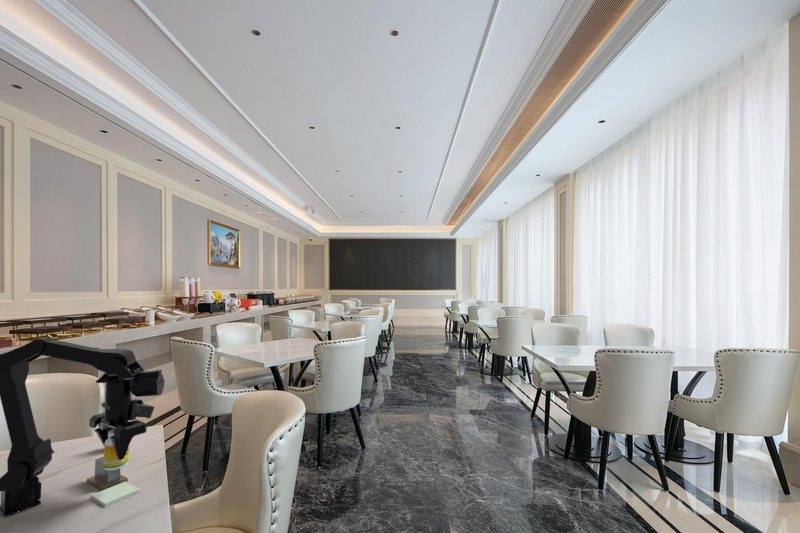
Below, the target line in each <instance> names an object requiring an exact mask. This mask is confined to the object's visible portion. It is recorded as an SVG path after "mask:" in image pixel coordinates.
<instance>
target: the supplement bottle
mask: <svg viewBox="0 0 800 533" xmlns="http://www.w3.org/2000/svg"><path fill="white" fill-rule="evenodd" d="M111 436H114V429H112V430H110V431H108V437H109V438H108V439H107V440H106V441H105V445H103V447H104V450H103V451H104V452H103V457H104V469H105V470H117V469H120V470H121V469H122V468H125V467H126V466H127V465H128V464H129V456H130V455H129V454H130V452H129V451H130V446H129V447H128V449H127V452H126V455H125V457H124V459H121V460H119V459H118V457H117V454H116V451H115V449H114V446H113V443H112V441H111V438H110V437H111Z"/></svg>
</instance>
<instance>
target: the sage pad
mask: <svg viewBox="0 0 800 533" xmlns="http://www.w3.org/2000/svg"><path fill="white" fill-rule="evenodd" d="M138 493H141V489H140V488H139V487H138V486H135V485H134V484H132V483H129V481H128V482H126V481H125V482H123V483H120V484H118V485H115V486H113V487H110V488H108V489H105V490H103V491H101V490H100V491H98V492H95V493H93V494H91V496H90V498H91V499H92V500H93V501H95V502H97V503H98V504H100V505H101V506H103V507H104V508H106V507H108V506H111V505H113V504H115V503H118V502H120V501H122V500H125V499H127V498H129V497H132V496H133V495H136V494H138Z"/></svg>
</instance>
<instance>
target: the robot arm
mask: <svg viewBox="0 0 800 533" xmlns="http://www.w3.org/2000/svg"><path fill="white" fill-rule="evenodd" d="M41 356H43V357H49V358H56V359H60V360H65V361H69V362H75V363H80V364H84V365H85V364H86V365H88V366H90V367H91V366H92V368H95V369H96V370H98V371H101V372H102V373H103V374H102V375H101V377H99V378H98V379H96V381H95V383H97V384H105V389H104V390H105V392H104V394H105V395H104V396H105V398H104V402H102V403H101V407H102V408H104V412H102V413H97V414H93V416H91V417H90V419H89V421H88V423H89V427H90V428H92V429H94V432H95V433H96V435H97V436H98V438H99V440H100V442H101V443H102V445H103V446H104V445H105V441H106V440H107V439H108V438H109V437H108V431H110V430H112V429H114V436H111V437H110V438H111V441H112V443H113V446H114V449H115V451H116V454H117V457H118V459H119V460H121V459H124V457H125V455H126V452H127V449H128V447H129V448H130V446H129V444H130V443H131V442H132V439H133V438H134V437H135V436H140V435H143V434H145V433H147V428H148V427H147V426H148V425H147V423H145V422H144V421H141V420H139V419H137V418H146V419H151V418H152V415H153V412H154V410H155V406H153V405H150V404H147V403H144V401H143V400H142V399H140V398H139V397H141V398H142V397H154V396H161V395H162V393H163V391H164V388H165V379H164V375H163V373H162V369H155V370H146V371H145V369H144V368H143V366H142V365H141V364H140V363H139V361H137V360H136V359H137V358H136V355H135V353H134V352H133V351H132V350H130V349H124V348H123V349H121V348H95V347H91V346H87V345H83V344H77V343H72V342H67V341H63V340H57V339H54V338H51V337H48V336H47V337H41V338H37V339H32V340H31V341H30V342H28V343H26V344H25V345H22V346H19V347H16V348H14V349H12V350H9V351H5V352H2V353H0V403H1V405H2V406H1V407H2V412H3V415H4V419H5V424H6V426H7V431H8V436H9V440H10V443H11V445H10V446H11V447H10V449H9V450H10V451H9V454H8V456H7V459H6V463H7V464H6V465H7V471H6V472H5V473H4V474H3V475H2V476H0V511H1V512H2V513H1V512H0V513H1V514H2V515H3V514H4V515H5V516H4V515H3V516H4V517H9V516H8V515H10V516H12V515H14V513H15V514H17V513H16V512H18V511H20V512H22V510H23V511H25V509H26V510H28V509H30V508H33V507H36V506H38V505H41V503H42V502H41V500H40V499H41V498H42V482H41V481H39V480H40V477H38V476H39V475H41V474H42V473H43V472H44V469H45V468H46V467H47V466H49V464H50V463H51V461H52V459H53V454H54V453H55V451H54V450H53V448H52V440H51V439H50V438H47V439H45V440H44V439H42V437H40V436H39V435H38V432H37V431H38V430H37V427H36V423H35V419H34V415H33V411H32V406H31V402H30V397H29V394H28V389H27V386H26V381H27V379H28V375H29V372H30V363H31V362H33V361H35V360H37V359H39V358H40V357H41ZM132 395H133V396H134V397H136V398H137V399H135V398H134V399H132ZM138 398H139V399H138ZM130 445H131V444H130ZM27 508H28V509H27ZM18 513H19V512H18ZM11 514H12V515H11Z"/></svg>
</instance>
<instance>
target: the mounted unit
mask: <svg viewBox="0 0 800 533" xmlns="http://www.w3.org/2000/svg"><path fill="white" fill-rule="evenodd" d="M94 460H95V463H94V465H95V466H94V476H91V477H87V478H86V483H87V484H89V485H91V486H93V487H94V488H96V489H98V490H100V491H103V490H105V489H108V488H110V487H113V486H115V485H118V484H120V483H123V482H125V481H126V482H128V483H129V479H128V478H129V477H127V476H124V475H122V473H121V468H120V469H117V470H105V469H104V456H102V457H98V458H95V459H94Z"/></svg>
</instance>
